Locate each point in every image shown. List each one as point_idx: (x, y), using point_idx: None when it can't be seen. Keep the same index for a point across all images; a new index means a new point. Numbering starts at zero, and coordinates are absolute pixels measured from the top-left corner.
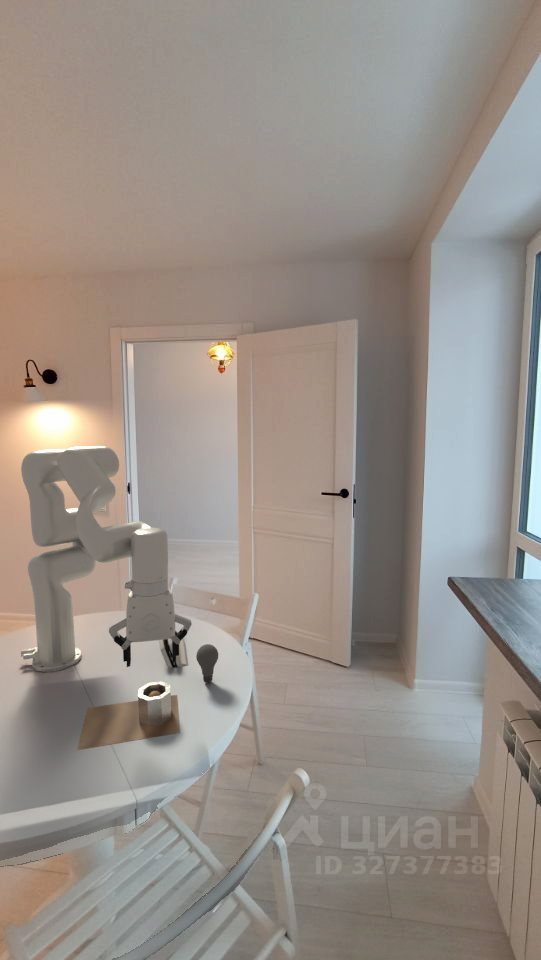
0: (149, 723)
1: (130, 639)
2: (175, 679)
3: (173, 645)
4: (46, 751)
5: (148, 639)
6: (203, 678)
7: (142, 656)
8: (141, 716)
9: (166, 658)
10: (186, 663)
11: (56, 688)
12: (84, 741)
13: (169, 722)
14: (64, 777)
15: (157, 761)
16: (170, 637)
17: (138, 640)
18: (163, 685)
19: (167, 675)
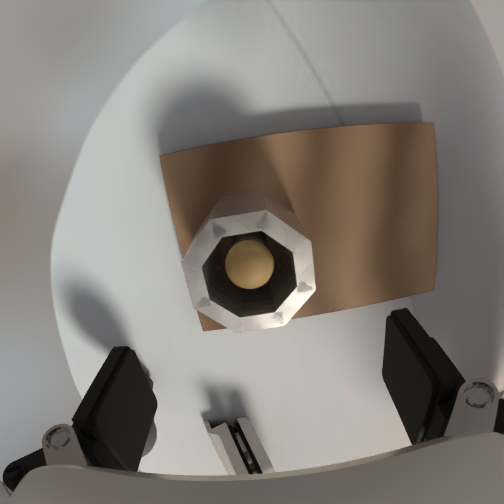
0: (259, 192)
1: (493, 446)
2: (228, 397)
3: (88, 421)
4: (481, 159)
5: (276, 489)
6: (150, 384)
7: (317, 456)
8: (289, 212)
9: (256, 446)
10: (209, 435)
11: (473, 361)
12: (425, 151)
13: (199, 205)
14: (428, 62)
15: (215, 71)
16: (48, 466)
17: (407, 462)
18: (219, 306)
19: (252, 410)
